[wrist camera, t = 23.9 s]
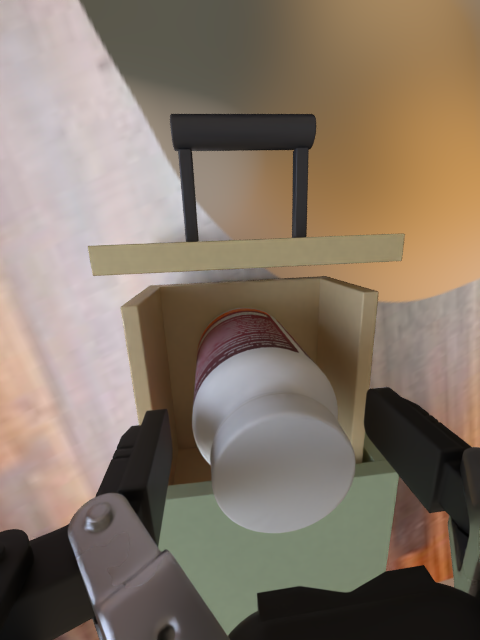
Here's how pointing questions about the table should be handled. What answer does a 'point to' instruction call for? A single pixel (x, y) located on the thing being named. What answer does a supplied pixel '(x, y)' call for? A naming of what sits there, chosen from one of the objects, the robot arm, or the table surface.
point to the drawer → (245, 289)
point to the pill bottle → (267, 425)
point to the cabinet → (281, 543)
